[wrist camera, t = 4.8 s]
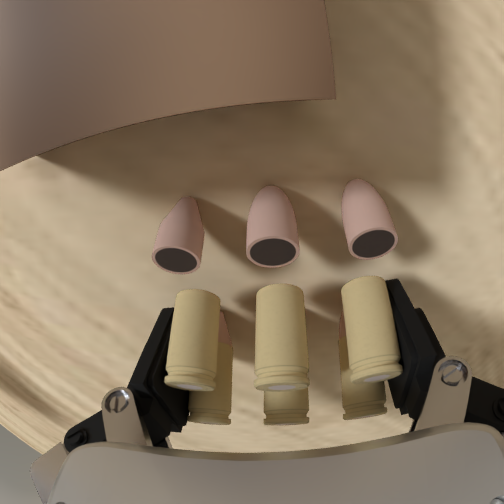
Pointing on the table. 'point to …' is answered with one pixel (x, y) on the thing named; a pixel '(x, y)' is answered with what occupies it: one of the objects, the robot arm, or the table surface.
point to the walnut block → (149, 63)
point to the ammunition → (281, 313)
